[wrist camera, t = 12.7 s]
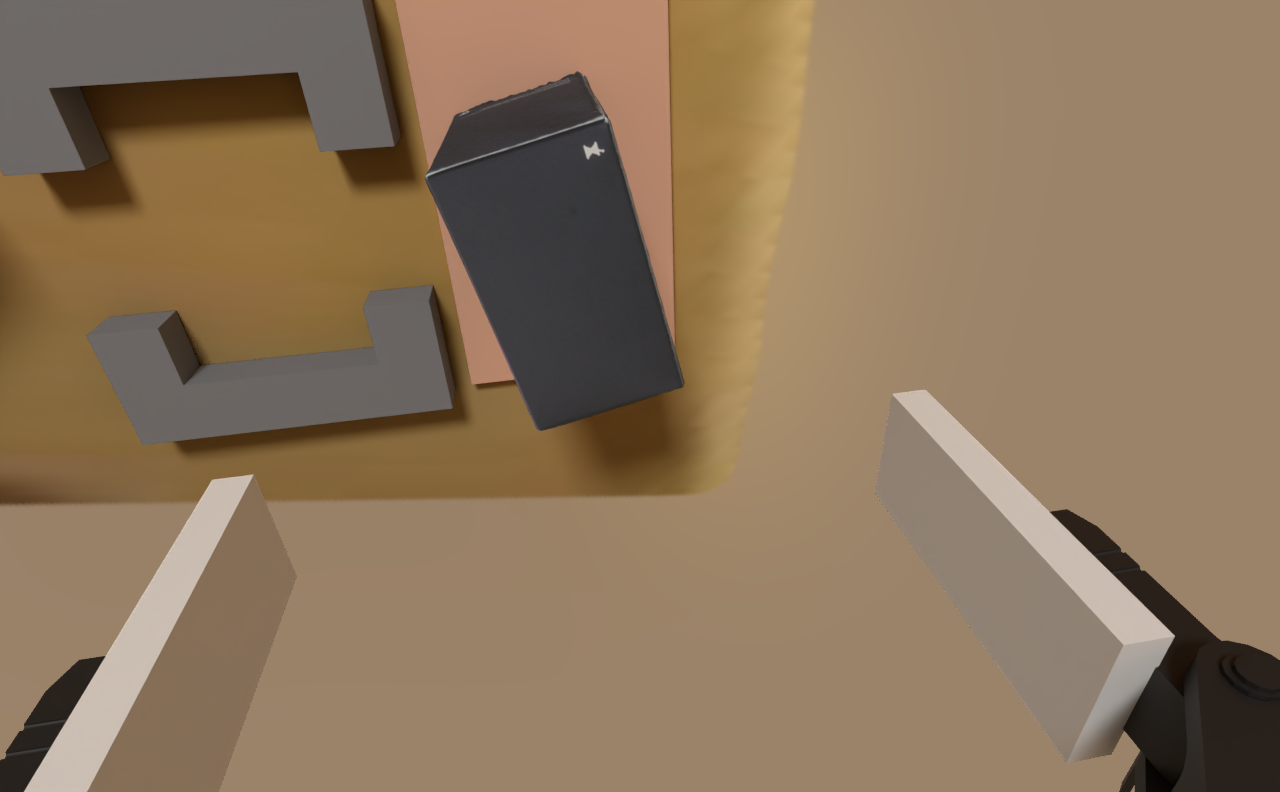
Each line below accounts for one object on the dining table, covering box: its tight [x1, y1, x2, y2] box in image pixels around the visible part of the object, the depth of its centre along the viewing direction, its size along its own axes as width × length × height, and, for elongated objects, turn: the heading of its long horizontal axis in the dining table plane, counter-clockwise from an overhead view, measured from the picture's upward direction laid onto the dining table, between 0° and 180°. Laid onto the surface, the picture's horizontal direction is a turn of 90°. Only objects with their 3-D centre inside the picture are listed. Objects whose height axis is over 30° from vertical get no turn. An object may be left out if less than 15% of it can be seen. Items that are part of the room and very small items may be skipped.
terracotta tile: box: [395, 0, 675, 384], centre depth 33 cm, size 11×18×1 cm, turn 3°
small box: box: [425, 71, 684, 431], centre depth 28 cm, size 11×6×10 cm, turn 16°
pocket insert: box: [0, 0, 455, 445], centre depth 31 cm, size 15×19×2 cm
